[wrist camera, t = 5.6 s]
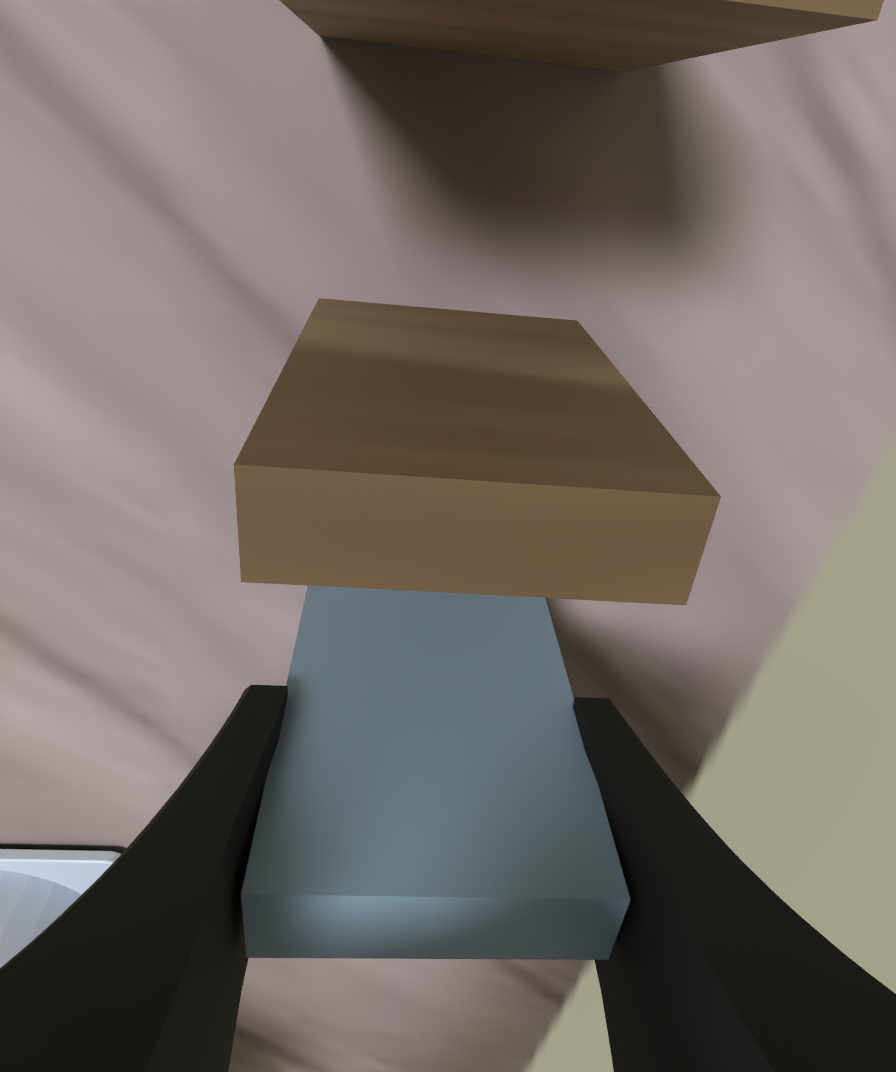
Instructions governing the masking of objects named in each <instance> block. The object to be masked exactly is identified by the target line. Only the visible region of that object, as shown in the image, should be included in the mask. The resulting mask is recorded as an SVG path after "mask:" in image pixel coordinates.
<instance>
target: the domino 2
mask: <svg viewBox="0 0 896 1072" xmlns="http://www.w3.org/2000/svg"><path fill="white" fill-rule="evenodd" d="M234 473H235V489H236V505H237V521H238V537H239V554H240V570H241V582H253V583H272V584H291V585H310V586H330V587H349V588H368V589H387V590H406V591H425V592H444V593H463V594H482V595H501V596H521V597H540V598H559V599H578V600H597V601H616V602H635V603H654V604H673V605H686V603H687V600H688V597H689V594H690V591H691V588H692V585H693V582H694V579H695V575H696V572H697V569H698V566H699V563H700V560H701V557H702V554H703V551H704V548H705V544H706V541H707V538H708V535H709V532H710V529H711V526H712V523H713V520H714V516H715V513H716V510H717V507H718V504H719V501H720V498H721V496H720V495H719V494H718V493H717V491H716V490H715V489H714V488H713V486H712V485H711V484H710V483H709V482H708V480H707V479H706V478H705V477H704V475H703V474H702V473H701V472H700V471H699V469H698V468H697V467H696V466H695V464H694V463H693V462H692V461H691V459H690V458H689V457H688V456H687V455H686V453H685V452H684V451H683V450H682V448H681V447H680V446H679V445H678V444H677V442H676V441H675V440H674V439H673V437H672V436H671V435H670V434H669V433H668V431H667V430H666V429H665V428H664V426H663V425H662V424H661V423H660V421H659V420H658V419H657V418H656V417H655V415H654V414H653V413H652V412H651V410H650V409H649V408H648V407H647V406H646V404H645V403H644V402H643V401H642V399H641V398H640V397H639V396H638V395H637V393H636V392H635V391H634V390H633V388H632V387H631V386H630V385H629V383H628V382H627V381H626V380H625V379H624V377H623V376H622V375H621V374H620V372H619V371H618V370H617V369H616V368H615V366H614V365H613V364H612V363H611V361H610V360H609V359H608V358H607V357H606V355H605V354H604V353H603V352H602V350H601V349H600V348H599V347H598V345H597V344H596V343H595V342H594V341H593V339H592V338H591V337H590V336H589V334H588V333H587V332H586V331H585V330H584V328H583V327H582V326H581V325H580V323H579V322H578V321H574V320H563V319H551V318H540V317H528V316H516V315H505V314H493V313H482V312H470V311H459V310H447V309H436V308H424V307H412V306H401V305H389V304H378V303H366V302H355V301H343V300H332V299H320V298H319V299H318V301H317V303H316V305H315V307H314V309H313V311H312V313H311V315H310V317H309V319H308V321H307V323H306V325H305V327H304V329H303V331H302V333H301V335H300V336H299V338H298V340H297V342H296V344H295V346H294V348H293V350H292V352H291V354H290V356H289V358H288V360H287V362H286V364H285V366H284V368H283V370H282V372H281V374H280V376H279V378H278V379H277V381H276V383H275V385H274V387H273V389H272V391H271V393H270V395H269V397H268V399H267V401H266V403H265V405H264V407H263V409H262V411H261V413H260V415H259V417H258V419H257V420H256V422H255V424H254V426H253V428H252V430H251V432H250V434H249V436H248V438H247V440H246V442H245V444H244V446H243V448H242V450H241V452H240V454H239V456H238V458H237V460H236V462H235V463H234Z"/></svg>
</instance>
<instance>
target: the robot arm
mask: <svg viewBox="0 0 896 1072" xmlns="http://www.w3.org/2000/svg"><path fill="white" fill-rule="evenodd" d="M287 698H288V686H271V685H251V686H249V687H248V688H246V689H245V690H244V692H243V694H242V696H241V698H240V699H239V701H238V703H237V704H236V706H235V708H234V709H233V711H232V713H231V714H230V716H229V717H228V719H227V720H226V722H225V724H224V725H223V727H222V728H221V730H220V731H219V732H218V734H217V735H216V737H215V738H214V740H213V741H212V743H211V744H210V746H209V747H208V748H207V750H206V751H205V753H204V754H203V755H202V757H201V758H200V759H199V761H198V762H197V763H196V765H195V766H194V767H193V769H192V770H191V771H190V773H189V774H188V776H187V777H186V778H185V780H184V781H183V782H182V783H181V785H180V786H179V787H178V789H177V790H176V791H175V792H174V794H173V795H172V796H171V797H170V798H169V800H168V801H167V802H166V803H165V804H164V806H163V807H162V808H161V809H160V810H159V812H158V813H157V814H156V815H155V816H154V818H153V819H152V820H151V821H150V823H149V824H148V825H147V826H146V827H145V828H144V830H143V831H142V832H141V833H140V834H139V835H138V836H137V837H136V839H135V840H134V841H133V842H132V843H131V844H130V845H129V846H128V848H127V849H126V850H125V851H124V852H123V853H122V854H120V853H118V852H114V851H86V850H33V849H0V1072H228V1069H229V1063H230V1057H231V1051H232V1044H233V1038H234V1032H235V1026H236V1020H237V1014H238V1008H239V1002H240V996H241V990H242V985H243V981H244V976H245V971H246V967H247V962H248V958H246V947H245V936H244V924H243V912H242V901H241V892H242V887H243V883H244V878H245V873H246V869H247V864H248V860H249V855H250V850H251V846H252V841H253V837H254V832H255V827H256V823H257V818H258V814H259V809H260V804H261V800H262V795H263V791H264V786H265V781H266V777H267V774H268V771H269V768H270V765H271V762H272V759H273V756H274V753H275V750H276V747H277V744H278V740H279V736H280V731H281V726H282V721H283V717H284V712H285V707H286V702H287ZM573 710H574V713H575V717H576V721H577V724H578V728H579V731H580V735H581V739H582V742H583V746H584V750H585V753H586V755H587V758H588V760H589V763H590V765H591V768H592V771H593V773H594V776H595V778H596V781H597V784H598V786H599V790H600V793H601V797H602V800H603V804H604V807H605V811H606V815H607V818H608V822H609V825H610V829H611V832H612V836H613V839H614V843H615V846H616V850H617V854H618V857H619V861H620V864H621V868H622V871H623V875H624V878H625V882H626V885H627V889H628V893H629V896H630V902H629V905H628V908H627V910H626V913H625V916H624V919H623V921H622V924H621V927H620V929H619V932H618V935H617V938H616V940H615V943H614V946H613V949H612V951H611V954H610V957H609V959H608V960H595V964H596V969H597V973H598V978H599V983H600V987H601V993H602V998H603V1005H604V1011H605V1017H606V1023H607V1029H608V1036H609V1042H610V1048H611V1054H612V1061H613V1068H614V1072H896V994H895V993H894V992H892V991H891V990H890V989H888V988H887V987H886V986H884V985H883V984H882V983H881V982H879V981H878V980H877V979H875V978H874V977H873V976H871V975H870V974H869V973H867V972H866V971H865V970H864V969H862V968H861V967H860V966H859V965H857V964H856V963H855V962H854V961H852V960H851V959H850V958H848V957H847V956H846V955H845V954H844V953H842V952H841V951H840V950H839V949H837V947H835V946H834V945H833V944H832V943H831V942H830V941H828V940H827V939H826V938H825V937H824V936H822V935H821V934H820V933H819V932H818V931H817V930H815V929H814V928H813V927H812V926H811V925H810V924H808V923H807V922H806V921H805V920H804V919H803V918H801V917H800V916H799V915H798V914H797V913H796V912H795V911H794V910H793V909H791V908H790V907H789V906H788V905H787V904H786V903H785V902H783V900H781V899H780V898H779V897H778V896H777V895H776V894H775V893H774V892H773V891H772V890H771V889H770V888H769V887H768V886H767V885H766V884H765V883H764V882H763V881H762V880H761V879H760V878H759V877H758V876H757V875H756V874H755V873H753V871H751V870H750V869H749V868H748V867H747V866H746V865H745V864H744V863H743V862H742V861H741V860H740V859H739V857H738V856H736V855H735V853H734V852H733V851H732V850H731V849H730V848H729V847H728V846H727V845H726V844H725V843H724V841H723V840H722V839H721V838H720V837H719V836H718V835H717V834H716V833H715V831H714V830H713V829H712V828H711V827H710V826H709V825H708V824H707V823H706V822H705V820H704V819H703V818H702V817H701V816H700V814H699V813H698V812H697V811H696V810H695V809H694V807H693V806H692V805H691V804H690V803H689V801H688V800H687V799H686V798H685V797H684V795H683V794H682V793H681V792H680V790H679V789H678V788H677V787H676V786H675V784H674V783H673V782H672V781H671V779H670V778H669V777H668V776H667V775H666V773H665V772H664V771H663V769H662V768H661V767H660V766H659V764H658V763H657V762H656V761H655V759H654V758H653V757H652V755H651V754H650V753H649V751H648V750H647V749H646V747H645V746H644V745H643V743H642V742H641V741H640V740H639V738H638V737H637V735H636V734H635V733H634V731H633V730H632V729H631V727H630V726H629V725H628V723H627V722H626V721H625V719H624V718H623V717H622V715H621V714H620V713H619V711H618V710H617V709H616V707H615V706H614V705H613V703H612V702H611V701H610V700H609V699H604V698H578V697H575V699H574V703H573Z"/></svg>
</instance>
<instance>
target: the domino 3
mask: <svg viewBox="0 0 896 1072" xmlns="http://www.w3.org/2000/svg"><path fill="white" fill-rule="evenodd" d="M286 686H288V698H287V702H286V707H285V712H284V717H283V721H282V726H281V731H280V736H279V740H278V744H277V747H276V750H275V753H274V756H273V759H272V762H271V765H270V768H269V771H268V774H267V777H266V781H265V786H264V791H263V795H262V800H261V804H260V809H259V814H258V818H257V823H256V827H255V832H254V837H253V841H252V846H251V850H250V855H249V860H248V864H247V869H246V873H245V878H244V883H243V887H242V892H241V901H242V912H243V924H244V936H245V947H246V958H405V959H579V960H608V959H609V957H610V954H611V951H612V949H613V946H614V943H615V940H616V938H617V935H618V932H619V929H620V927H621V924H622V921H623V919H624V916H625V913H626V910H627V908H628V905H629V902H630V896H629V893H628V889H627V885H626V882H625V878H624V875H623V871H622V868H621V864H620V861H619V857H618V854H617V850H616V846H615V843H614V839H613V836H612V832H611V829H610V825H609V822H608V818H607V815H606V811H605V807H604V804H603V800H602V797H601V793H600V790H599V786H598V784H597V781H596V778H595V776H594V773H593V771H592V768H591V765H590V763H589V760H588V758H587V755H586V753H585V750H584V746H583V742H582V739H581V735H580V731H579V728H578V724H577V721H576V717H575V713H574V710H573V703H574V697H573V694H572V690H571V687H570V683H569V680H568V676H567V673H566V669H565V666H564V662H563V658H562V655H561V651H560V648H559V644H558V641H557V637H556V634H555V630H554V627H553V623H552V619H551V616H550V612H549V609H548V605H547V602H546V598H540V597H521V596H501V595H482V594H463V593H444V592H425V591H406V590H387V589H368V588H349V587H330V586H310V585H308V588H307V593H306V597H305V602H304V606H303V611H302V616H301V620H300V625H299V630H298V634H297V639H296V643H295V648H294V653H293V657H292V662H291V666H290V671H289V676H288V680H287V685H286Z"/></svg>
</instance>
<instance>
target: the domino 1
mask: <svg viewBox="0 0 896 1072" xmlns="http://www.w3.org/2000/svg"><path fill="white" fill-rule="evenodd" d="M280 1H281V2H282V3H283V4H284V5H285V6H287V7H288V8H289V9H290V10H291V11H292V12H293V13H294V14H296V15H297V16H298V17H299V18H300V19H301V20H302V21H303V22H304V23H306V24H307V25H308V26H309V27H310V28H311V29H312V30H313V31H315V32H316V33H317V34H318V35H319V36H323V37H332V38H340V39H349V40H357V41H365V42H374V43H382V44H391V45H399V46H408V47H416V48H425V49H433V50H442V51H450V52H459V53H467V54H476V55H484V56H493V57H501V58H509V59H518V60H526V61H535V62H543V63H552V64H560V65H569V66H577V67H586V68H594V69H603V70H611V71H620V72H625V71H629V70H634V69H639V68H644V67H649V66H654V65H659V64H664V63H669V62H674V61H679V60H683V59H688V58H693V57H698V56H703V55H708V54H713V53H718V52H723V51H728V50H733V49H737V48H742V47H747V46H752V45H757V44H762V43H767V42H772V41H777V40H782V39H787V38H791V37H796V36H801V35H806V34H811V33H816V32H821V31H826V30H831V29H836V28H841V27H845V26H850V25H855V24H860V23H865V22H870V21H875V20H878V17H879V13H880V10H881V7H882V4H883V1H884V0H280Z"/></svg>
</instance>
